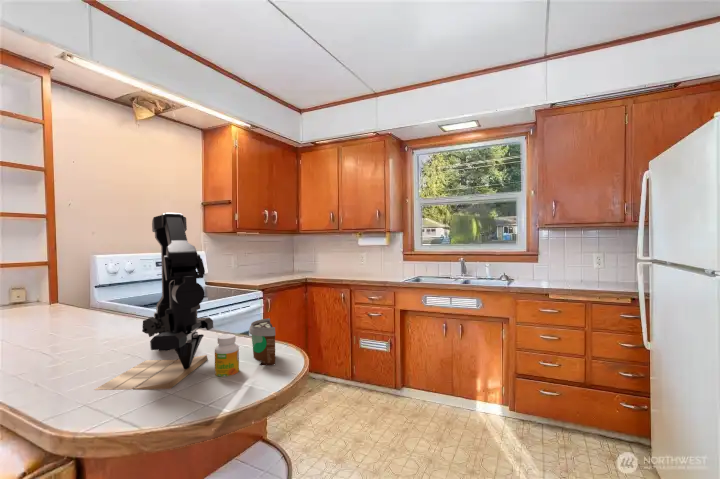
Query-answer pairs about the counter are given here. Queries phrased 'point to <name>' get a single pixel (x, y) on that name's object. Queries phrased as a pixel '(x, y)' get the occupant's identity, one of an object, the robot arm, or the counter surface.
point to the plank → (171, 374)
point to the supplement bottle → (226, 356)
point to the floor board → (135, 375)
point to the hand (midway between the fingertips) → (186, 368)
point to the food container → (263, 341)
